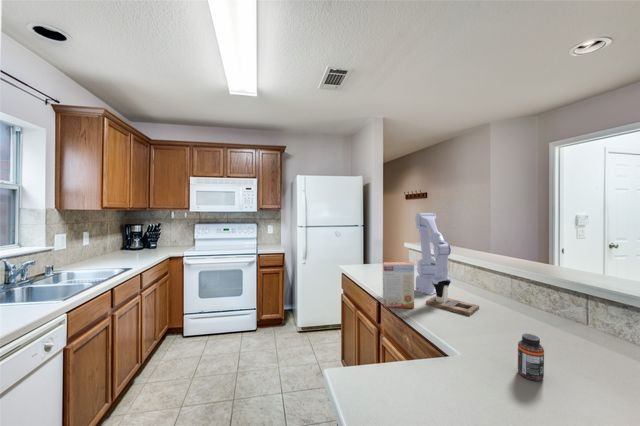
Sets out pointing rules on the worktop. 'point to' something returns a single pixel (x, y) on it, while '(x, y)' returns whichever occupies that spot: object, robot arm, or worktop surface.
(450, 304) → the socket panel
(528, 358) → the supplement bottle
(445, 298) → the plug
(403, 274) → the cracker box
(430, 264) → the robot arm
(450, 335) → the worktop surface
